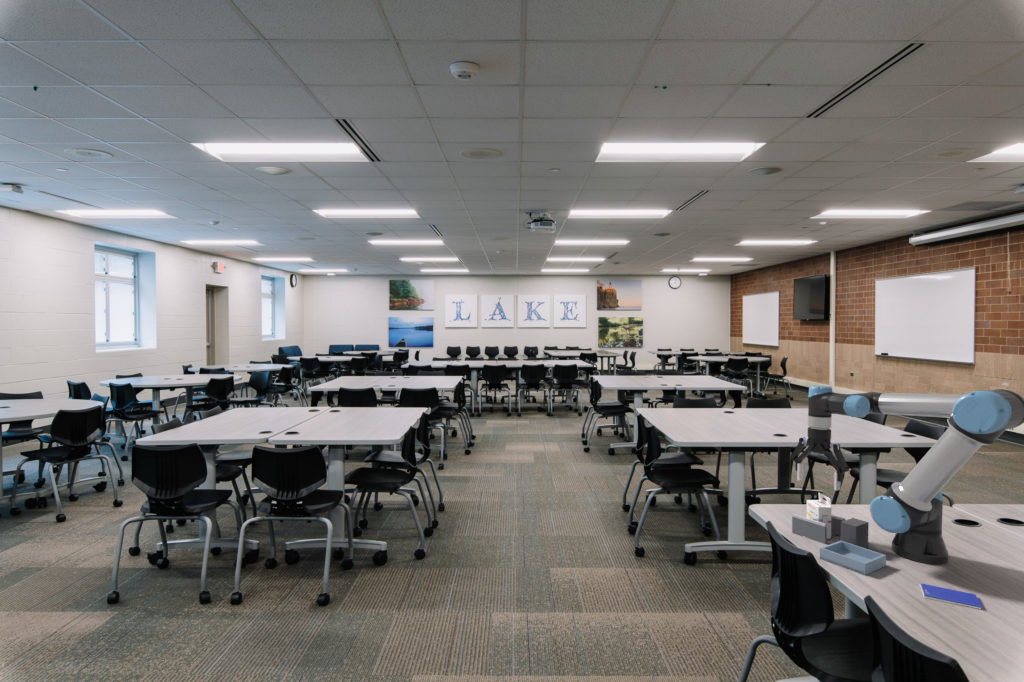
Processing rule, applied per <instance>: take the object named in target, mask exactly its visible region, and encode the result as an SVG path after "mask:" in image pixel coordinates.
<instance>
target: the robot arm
mask: <svg viewBox="0 0 1024 682" xmlns="http://www.w3.org/2000/svg"><path fill="white" fill-rule="evenodd" d="M807 399H808V401H807V402H808V403H807V404H808V409H807V411H808V413H807V426H808V427H807V438H806V437H803V436H802V437H800V438H798V444H797V445H796V447H795V449H794V450H793V453H792V454H791V456H790V459H789V460H791V461H793V462H795V467H794V468H795V472H796V473H797V474H796V476H797V477H796V480H797V481H798V482H800V481H804V464H805V463H804V462H803V461H804V460H805V459H806V458H807V457H808V456H809V455H810V454H811V453H812V452H813V453H818V454H820V455H822V454H823V455H824V456H825V458H827V460H828V461H829V462H830V464H831V465H832V467H833V468H834V469H835V472H834V474H833V475H834V476H833V490H834V491H837V492H838V491H840V490H841V486H842V485H841V484H842V482H843V481H844V473H846V472H849V471H850V468H849V465H848V464H847V461H846V459H845V457H844V455H843V453H842V450H841V444H840V443H832V442H831V441H832V429H831V428H832V417H833V416H832V414H834V415H835V414H836V415H841V416H846V417H851V418H865V417H866V416H867V415H868V414H874V415H894V416H895V415H896V416H915V417H928V418H929V417H930V418H947V420H946V421H947V424H948V428H946V430H945V431H944V432H943V433H942V435H941V436H940V437H939V438H938V439H937V441H936V442H935V443H934V444H933V445H932V446H931V447H930V449H929V450H928V451H927V452H926V454H924V456H923V457H922V458H921V459H920V460H919V461H918V462H917V463H916V465H915V466H914V467H913V468H912V470H911V471H910V472H909V473H908V474H907V475H906V476H905V478H903V480H902V481H901V482H899V481H895V482H893V483H892V484H891V485H890V486H889V487H888V488H887V490H886V491H885V492H884V493H883V494H882V495H878V496H876V497H875V498H873V499H872V500H871V502H870V504H869V512H870V517H871V519H872V520H873V522H874V523H875V524H876V525H877V526H878V527H879V528H880V529H882V530H883V531H885V532H888V533H891V534H895V535H894V536H893V538H892V542H891V550H892V551H893V553H895V554H896V555H899V556H900V557H903V558H905V559H908V560H912V561H914V562H915V561H916V562H919V563H924V564H932V565H938V564H939V565H940V564H941V565H942V564H946V563H948V562H949V551H948V549H947V546H946V543H945V540H944V538H943V504H944V500H943V493H942V491H941V490H942V489H943V488H944V487H945V486H946V485H947V484H948V483H949V482H950V480H951V479H952V478H953V477H954V476H955V475H956V474H957V472H959V471H960V470H961V469H962V468H963V467H964V465H965V464H966V463H967V462H968V461H969V460H970V458H972V457H973V456H974V454H976V452H978V450H979V449H980V448H981V447H982V446H991V445H993V444H994V443H995V442H996V440H998V438H999V437H1000V436H1002V435H1003V433H1004V432H1006V431H1007V430H1010V429H1016V428H1017V427H1019V426H1021V425H1023V424H1024V397H1023V396H1022V395H1020V394H1019V393H1017V392H1015V391H1013V390H1010V389H1004V388H1001V389H1000V388H997V389H988V390H975V391H971V392H967V393H964V394H959V393H958V394H957V393H955V394H954V393H917V392H916V393H913V392H911V393H908V392H907V393H906V392H903V393H902V392H899V393H898V392H878V391H877V392H876V391H868V392H867V391H866V392H860V393H859V392H858V393H838V392H837V393H836V392H833V387H832V386H828V385H816V384H815V385H810V386H809V388H808V395H807ZM806 444H807V447H806V448H805V450H804V451H803V449H804V447H805V445H806ZM832 450H833V451H832ZM802 451H803V452H802ZM833 453H834V454H833Z"/></svg>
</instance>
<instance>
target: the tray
mask: <svg viewBox="0 0 1024 682" xmlns="http://www.w3.org/2000/svg"><path fill="white" fill-rule="evenodd" d="M819 559H820V560H822V561H826V562H828V563H831V564H833V565H835V566H836V565H837V566H838V565H839V567H841V566H842V567H841V568H844V569H847V570H849V569H850V570H849V571H852V572H855V573H857V572H858V573H857V574H860V573H861V575H863V576H866V575H870V573H871V574H872V573H873V571H874V572H877V570H880V568H881V569H882V567H883V568H885V567H887V555H886V554H883V553H880V552H877V551H874V550H871V549H869V548H867V549H866V548H863V547H860V546H857V545H853V544H850V543H847V542H844V541H841V540H839V541H835V542H833V543H830V544H827V545H825V546H822V547H819ZM884 566H885V567H884Z"/></svg>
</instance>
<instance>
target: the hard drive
mask: <svg viewBox="0 0 1024 682" xmlns="http://www.w3.org/2000/svg"><path fill="white" fill-rule="evenodd" d="M919 587H921V588H920V590H921V593H922V595H923V598H924V599H929V600H931V601H932V600H933V601H937V602H938V601H939V602H941V603H948V604H953V605H956V604H958V606H961V605H965V606H964V607H966V606H971V607H977V608H982V609H983V606H982V603H981V602H980V600H979V598H978V597H977V595H976V594H975V593H971V592H965V591H960V590H955V589H950V588H946V587H940V586H936V585H932V584H931V585H930V584H928V583H927V584H926V583H919ZM971 607H970V608H971Z"/></svg>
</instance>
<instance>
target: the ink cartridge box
mask: <svg viewBox="0 0 1024 682" xmlns="http://www.w3.org/2000/svg"><path fill="white" fill-rule="evenodd" d="M831 514H832V500H831V498H830V497H828V496H826V495H824V494H823V493H821V492H818V499H806V517H805V518H809V519H812V520H815V521H818V522H822V523H825V524H827V536H826V540H831V539H832V533H831Z"/></svg>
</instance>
